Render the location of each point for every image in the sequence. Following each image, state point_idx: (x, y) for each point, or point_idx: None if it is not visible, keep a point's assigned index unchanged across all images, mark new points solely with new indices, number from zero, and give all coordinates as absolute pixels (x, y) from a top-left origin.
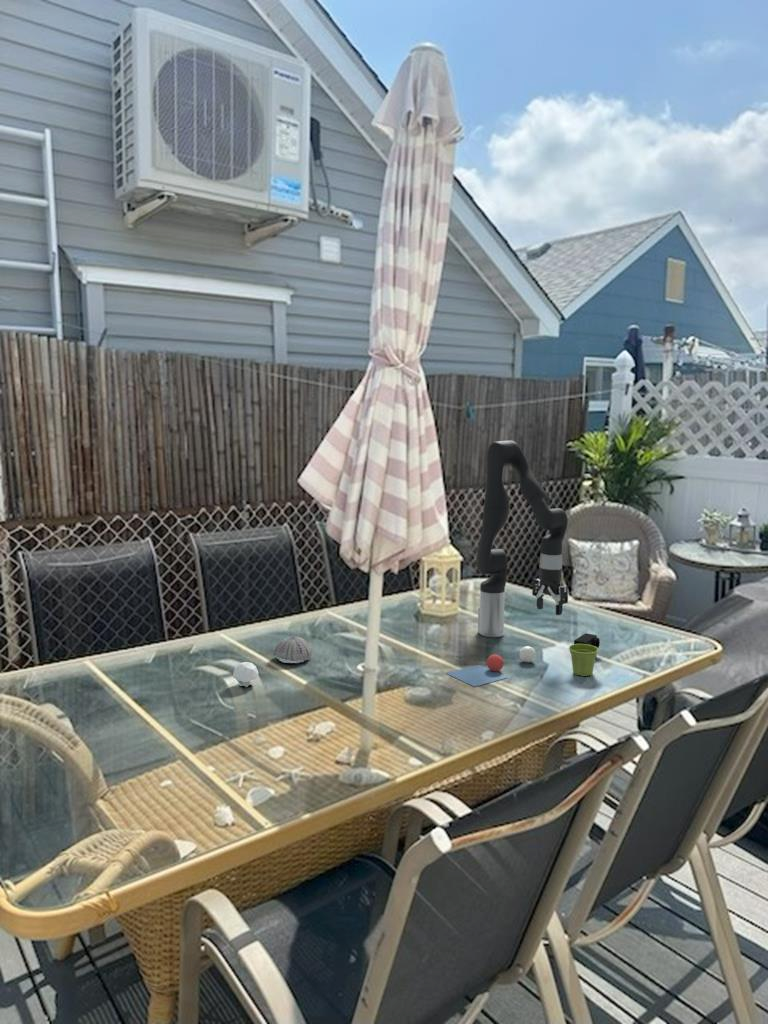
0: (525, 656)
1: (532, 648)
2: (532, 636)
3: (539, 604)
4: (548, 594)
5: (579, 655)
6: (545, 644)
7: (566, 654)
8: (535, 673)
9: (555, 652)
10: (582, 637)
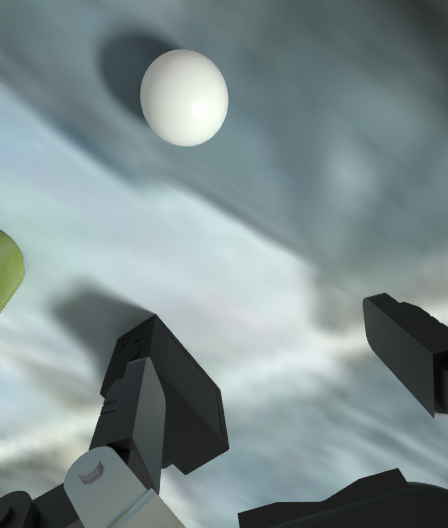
0: (151, 63)
1: (167, 118)
2: (443, 301)
3: (391, 328)
4: (307, 513)
5: None
6: (345, 301)
7: (214, 317)
8: (23, 48)
9: (250, 290)
10: (175, 413)
